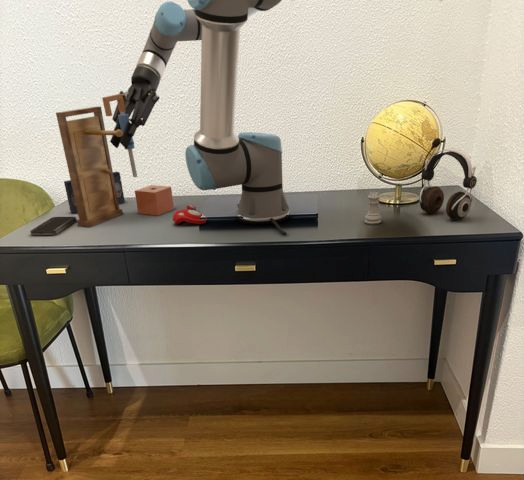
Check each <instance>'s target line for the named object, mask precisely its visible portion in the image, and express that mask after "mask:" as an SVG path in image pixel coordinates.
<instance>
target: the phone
mask: <svg viewBox="0 0 524 480" xmlns="http://www.w3.org/2000/svg"><path fill="white" fill-rule="evenodd" d="M74 223H77V217H76V216H53V217H51V218H49V219H47V220H46V221H44V222H42V223H41V224H38V225H37V226H35V227H34V228H32V229H31V230H30V235H31V236H55V235H58V234H60V233H61V232H63V231H64V230H66V229H67V228H69V227H70V226H72V225H73V224H74Z"/></svg>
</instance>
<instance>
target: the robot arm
mask: <svg viewBox="0 0 524 480" xmlns="http://www.w3.org/2000/svg"><path fill="white" fill-rule="evenodd" d="M282 1H283V0H187V2H188V5H189V6H190V7H191V8H190V9H186V8H185V9H184V8H183V7H182V6H181V5H180V4H179V3H175V2H174V1H171V0H170V1H169V0H168V1H164V2H162V4H161V5H160V6H159V8H158V9H157V11H156V13H155V15H154V20H153V23H152V26H151V28H150V31H149V34H148V37H147V39H146V42H145V45H144V47H143V50H142V52H141V53H140V56H139V58H138V61H137V63H136V65H135V68H134V70H133V73H132V75H131V78H130V79H131V80H130V81H131V85H130V86H129V88H127V91H125V92H124V91H123V90H120V92H119V93H118V94H122V96H123V100H124V105H125V110H126V111H125V114H128V116H129V121H130V122H128V123H127V125H126V127H125V130H124V132H123V135H122V137H117V136H115V135H111V138H110V141H109V143H110V144H112V146H114V148H116V149H118V148H119V146H120V145H121V146H122V147H123V148H124V149H125V148H128V145H129V143H130V141H131V138H132V137H133V138H134V136H135V134H136V131H137V129H138V128H139V127H140V126H142V127H144V126H145V125H146V122H147V121H148V119H149V117H150V115H151V113H152V112H153V109H154V107H155V105H156V103H158V101H159V100H160V96H159V94H158V93H157V90H158V87H159V85H160V82H161V81H162V78H163V75H164V72H165V71H166V68H167V65H168V63H169V61H170V58H171V56H172V53H173V51H174V49H175V48H176V45H177V43H178V42H191V41H194V42H195V41H201V52H200V108H199V110H200V113H199V122H200V123H199V129H198V130H197V131H196V132H195V133H194V134H193V144H189V145H187V147H186V149H185V152H184V154H185V155H184V156H185V163H186V167H187V171H188V173H189V176H190V178H191V180H192V182H193V185H194V186H195V187H196V188H197V189H199V190H201V191H211V190H212V191H216V190H218V189H219V190H220V189H223V188H229V187H230V188H231V187H235V186H241V194H240V199H239V203H238V204H237V212H236V213H237V214H238V215H241V216H242V217H243V220H242V219H240V218H238V217H237V221H239V222H241V223H243V224H247V225H258V226H260V225H261V226H262V225H273V226H275V227H276V229H277V230H278V231H279V232H280V234H282V235H283V236H286V235H287V232H286V231H285V230H284V229H283V228H282V227H281V226H280V225H279V223H282V222H284V221H286V220H288V219H290V216H291V210H290V205H289V204H288V201H287V199H286V198H287V197H286V195H285V192H284V187H283V186H284V185H283V149H282V140H281V138H280V137H279V136H278V135H276V134H272V133H266V132H264V133H263V132H251V131H250V132H247V131H243V132H239V133H238V135H237V134H236V132H235V120H236V102H237V87H238V70H239V55H240V54H239V52H240V39H241V38H240V36H241V28H242V27H243V26H244V25H245V24H246V23H247V22H248V19H249V18H250V17H252V16H253V15H254V14H256V13H258V12H266V11H269V10H271V9H273V8H274V7H276V6H277V5H279V4H280V3H281V2H282ZM118 115H121V113H120V112H119V108H118V103H116V107H115V109H114V112H113V114H112V118H111V119H112V121H113V122H114V123H115V126H114V129H113V131H116V130H118V129H120V130H121V128H120V123H119V118H118ZM289 212H290V214H289V215H288V216H287V217H285V216H286V215H287V214H288V213H289Z"/></svg>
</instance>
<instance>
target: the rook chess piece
mask: <svg viewBox="0 0 524 480" xmlns="http://www.w3.org/2000/svg"><path fill="white" fill-rule="evenodd" d="M367 198H368V200H369V201H368V210H367V213H366V215H365V216H364V218H365V219H364V223H365V224H367V225H373V226H374V225H379V224H380V223H381V222H382V220H381V219H382V217H381V214H380V211H379V204H380V201H379V200H380V198H381V195H380V192H379V191H376V192H375V191H373V192H372V191H371V192H369V194H368V196H367Z"/></svg>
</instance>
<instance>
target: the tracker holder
mask: <svg viewBox="0 0 524 480" xmlns="http://www.w3.org/2000/svg"><path fill="white" fill-rule="evenodd" d="M185 205H186V208H184V209H179V210H176V211H175V212H174V214H173V216H172V221H173V222H174V223H175V224H176V225H180V224H182V223H184V222H186V223H190V224H195V225H203V224H206V223H207V219H208V217H207V218H206V219H205V220H201V219H200V217H201V216H202V214H203V213H202V212H201V211H199V210H198V209H197V207H196V206H195V205H193V204H192V205H191V204H189V203H185Z"/></svg>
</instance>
